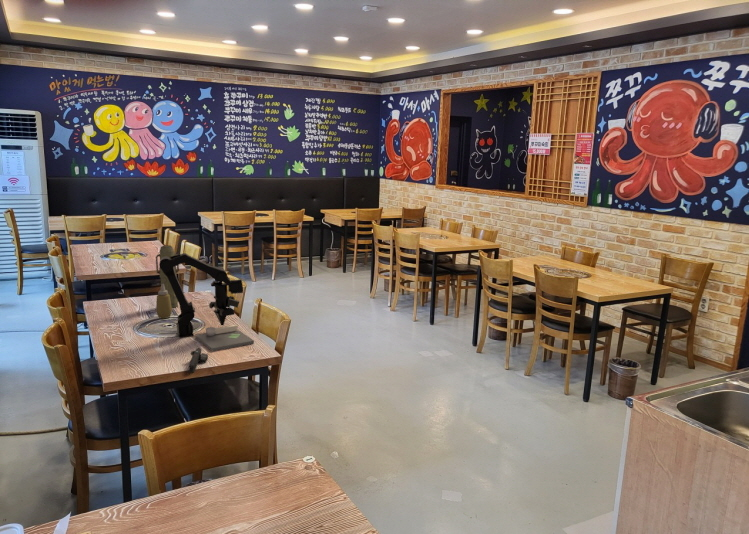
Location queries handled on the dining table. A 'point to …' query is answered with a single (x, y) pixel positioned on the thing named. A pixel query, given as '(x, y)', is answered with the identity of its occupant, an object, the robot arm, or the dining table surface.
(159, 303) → the squeeze bottle
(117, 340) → the dining table surface
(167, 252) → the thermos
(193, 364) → the can opener
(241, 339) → the board
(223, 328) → the dial lever
